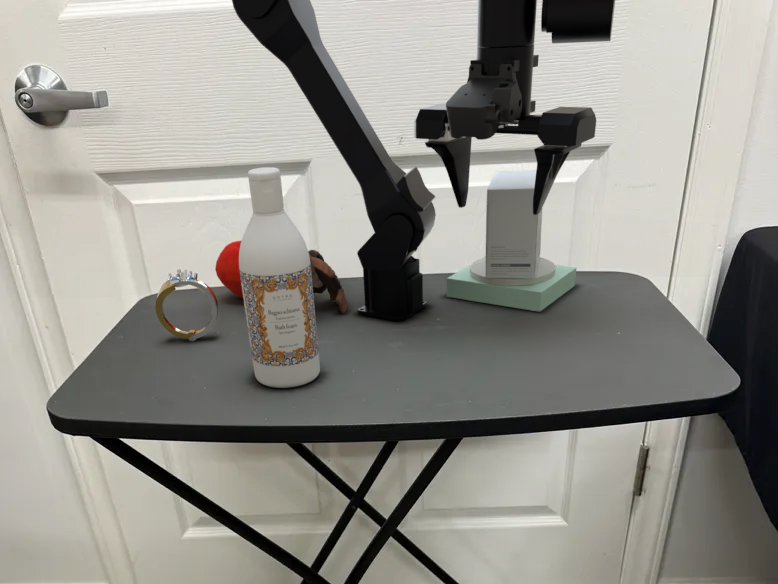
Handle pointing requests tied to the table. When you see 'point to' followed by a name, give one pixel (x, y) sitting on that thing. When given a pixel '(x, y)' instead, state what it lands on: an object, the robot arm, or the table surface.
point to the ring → (169, 287)
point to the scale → (512, 286)
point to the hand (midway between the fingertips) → (498, 210)
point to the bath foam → (277, 289)
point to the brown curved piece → (326, 280)
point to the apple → (230, 268)
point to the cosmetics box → (512, 226)
